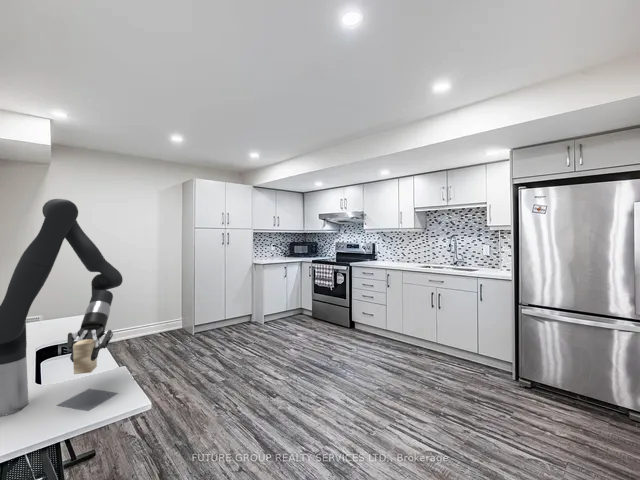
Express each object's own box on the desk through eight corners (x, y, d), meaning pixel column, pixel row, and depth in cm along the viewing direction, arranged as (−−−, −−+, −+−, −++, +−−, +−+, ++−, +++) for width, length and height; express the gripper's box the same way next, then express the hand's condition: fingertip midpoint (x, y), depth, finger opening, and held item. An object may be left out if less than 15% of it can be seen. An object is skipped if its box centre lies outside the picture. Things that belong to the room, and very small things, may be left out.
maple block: (73, 374, 108) (73, 344, 108) (80, 368, 113) (79, 339, 113) (90, 372, 110) (90, 343, 109) (96, 366, 114) (96, 338, 114)
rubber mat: (56, 407, 111) (56, 405, 111) (89, 390, 122) (89, 388, 122) (88, 412, 107) (88, 410, 107) (119, 394, 119) (119, 393, 119)
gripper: (70, 312, 116) (53, 358, 105) (115, 309, 120) (104, 353, 109) (77, 322, 121) (62, 367, 110) (120, 320, 125) (110, 363, 114)
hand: (83, 360), depth 109 cm, fingers closed on maple block, 5 cm apart
